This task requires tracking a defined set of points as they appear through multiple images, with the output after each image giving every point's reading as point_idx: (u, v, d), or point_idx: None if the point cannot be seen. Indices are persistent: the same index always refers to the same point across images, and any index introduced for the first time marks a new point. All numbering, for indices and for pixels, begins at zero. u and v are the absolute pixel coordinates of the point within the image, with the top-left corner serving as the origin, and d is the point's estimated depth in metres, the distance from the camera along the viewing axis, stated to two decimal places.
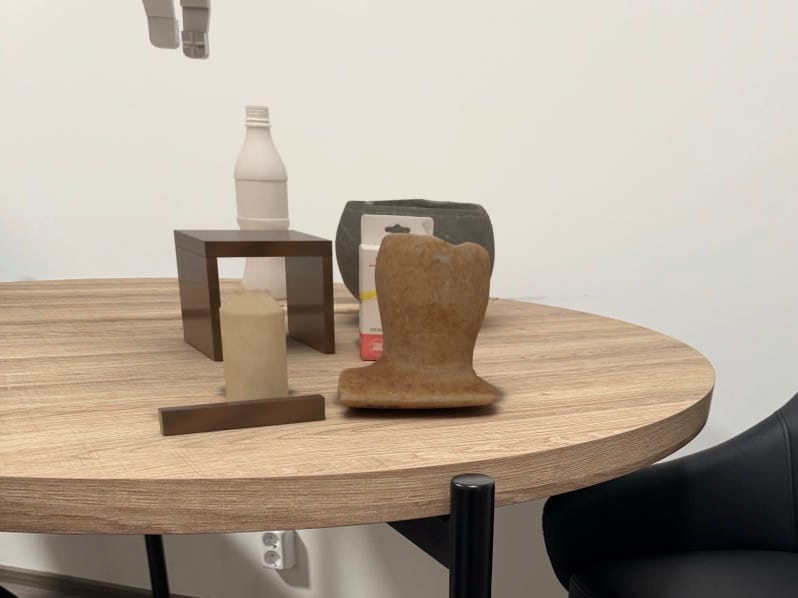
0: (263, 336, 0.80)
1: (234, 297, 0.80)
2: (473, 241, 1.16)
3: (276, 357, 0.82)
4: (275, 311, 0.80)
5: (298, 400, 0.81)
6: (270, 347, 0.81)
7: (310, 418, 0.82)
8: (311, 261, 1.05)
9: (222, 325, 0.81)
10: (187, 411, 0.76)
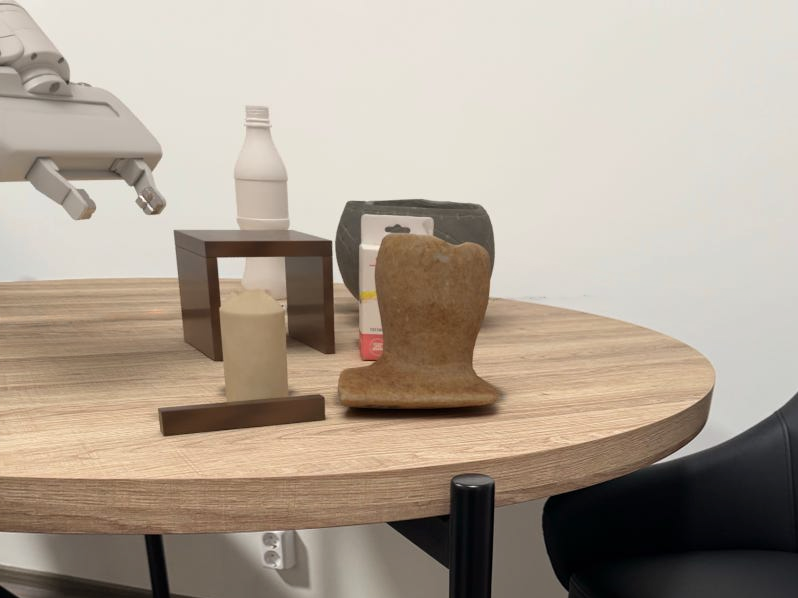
0: (263, 336, 0.80)
1: (234, 297, 0.80)
2: (473, 241, 1.16)
3: (276, 357, 0.82)
4: (275, 311, 0.80)
5: (298, 400, 0.81)
6: (270, 347, 0.81)
7: (310, 418, 0.82)
8: (311, 261, 1.05)
9: (222, 325, 0.81)
10: (187, 411, 0.76)
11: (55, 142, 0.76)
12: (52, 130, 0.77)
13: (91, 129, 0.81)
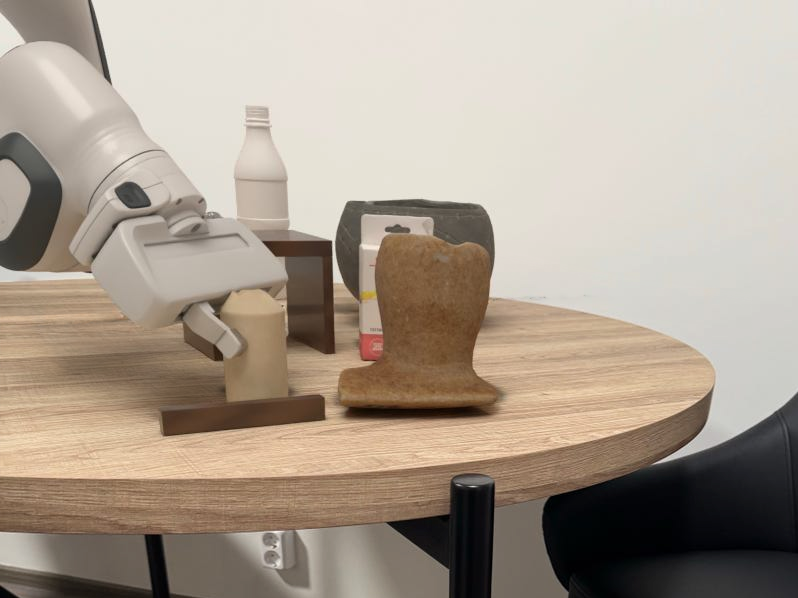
0: (263, 336, 0.80)
1: (234, 297, 0.80)
2: (473, 241, 1.16)
3: (276, 357, 0.82)
4: (275, 311, 0.80)
5: (298, 400, 0.81)
6: (270, 346, 0.81)
7: (310, 418, 0.82)
8: (311, 261, 1.05)
9: None
10: (187, 411, 0.76)
11: (201, 287, 0.77)
12: (197, 274, 0.78)
13: (229, 266, 0.82)
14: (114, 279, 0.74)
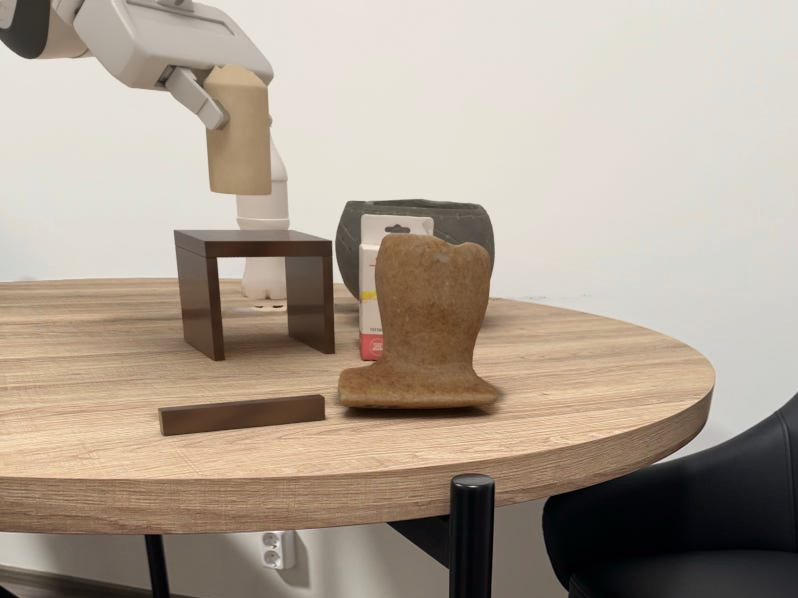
0: (246, 109, 0.81)
1: (217, 70, 0.80)
2: (473, 241, 1.16)
3: (259, 135, 0.82)
4: (258, 85, 0.81)
5: (298, 400, 0.81)
6: (252, 122, 0.81)
7: (310, 418, 0.82)
8: (311, 261, 1.05)
9: None
10: (187, 411, 0.76)
11: (183, 51, 0.78)
12: (179, 40, 0.78)
13: (213, 44, 0.82)
14: (95, 30, 0.74)
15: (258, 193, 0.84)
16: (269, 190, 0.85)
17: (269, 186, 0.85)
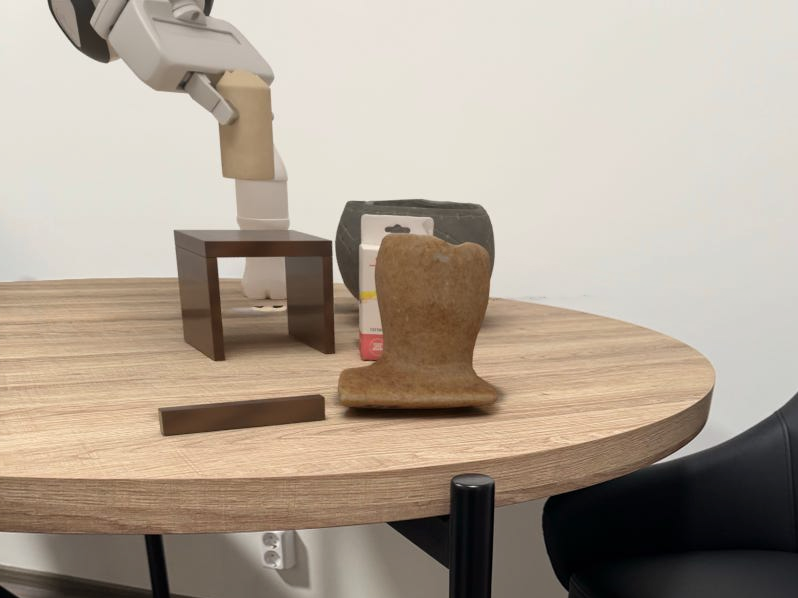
0: (252, 107, 0.96)
1: (228, 74, 0.96)
2: (473, 241, 1.16)
3: (263, 128, 0.97)
4: (263, 86, 0.96)
5: (298, 400, 0.81)
6: (258, 117, 0.97)
7: (310, 418, 0.82)
8: (311, 261, 1.05)
9: None
10: (187, 411, 0.76)
11: (199, 59, 0.93)
12: (196, 50, 0.94)
13: (223, 52, 0.98)
14: (128, 43, 0.89)
15: (263, 178, 0.99)
16: (272, 175, 1.01)
17: (272, 172, 1.00)
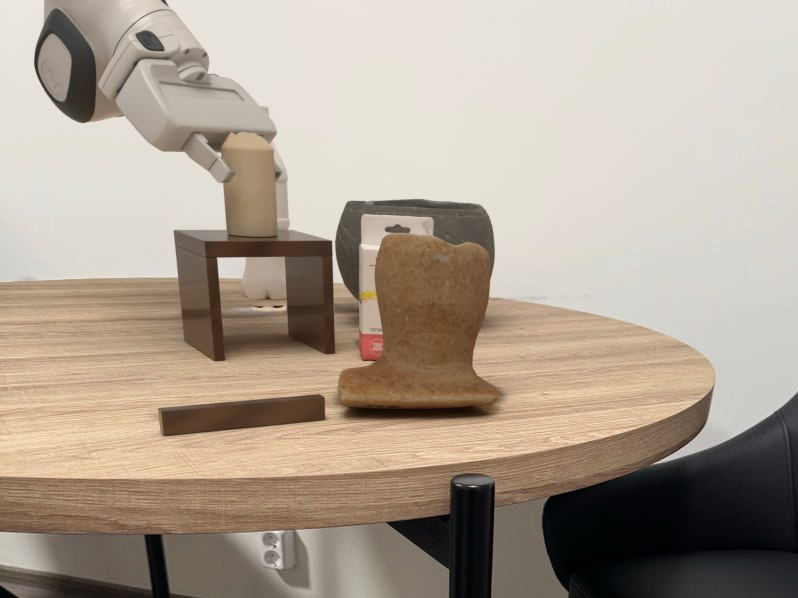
0: (256, 168, 0.99)
1: (232, 136, 0.98)
2: (473, 241, 1.16)
3: (267, 188, 1.00)
4: (266, 148, 0.99)
5: (298, 400, 0.81)
6: (261, 178, 0.99)
7: (310, 418, 0.82)
8: (311, 261, 1.05)
9: None
10: (187, 411, 0.76)
11: (204, 120, 0.95)
12: (201, 111, 0.96)
13: (227, 111, 1.00)
14: (135, 106, 0.92)
15: (267, 235, 1.02)
16: (276, 232, 1.03)
17: (276, 229, 1.03)
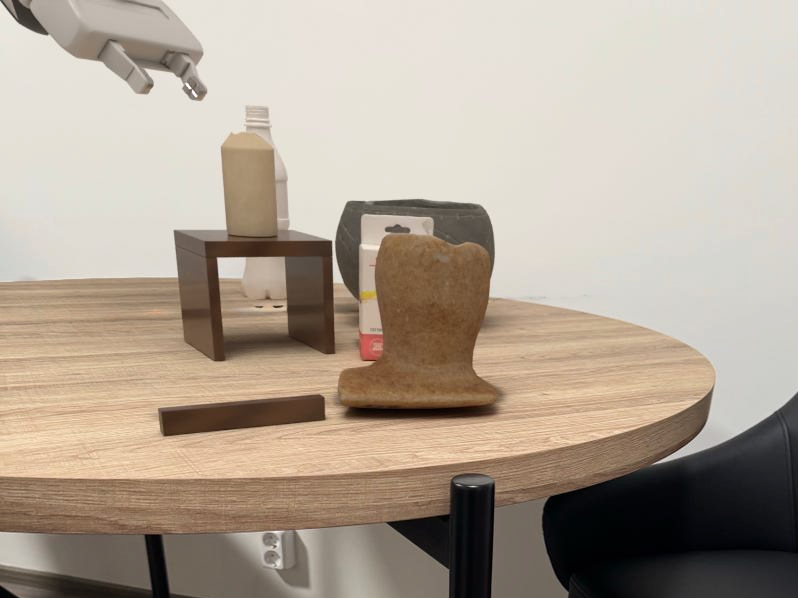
0: (256, 168, 0.99)
1: (232, 136, 0.98)
2: (473, 241, 1.16)
3: (267, 188, 1.00)
4: (266, 148, 0.99)
5: (298, 400, 0.81)
6: (262, 178, 0.99)
7: (310, 418, 0.82)
8: (311, 261, 1.05)
9: (223, 160, 0.99)
10: (187, 411, 0.76)
11: (121, 29, 0.94)
12: (119, 20, 0.95)
13: (148, 25, 0.99)
14: (48, 10, 0.91)
15: (267, 235, 1.02)
16: (276, 232, 1.03)
17: (276, 229, 1.03)
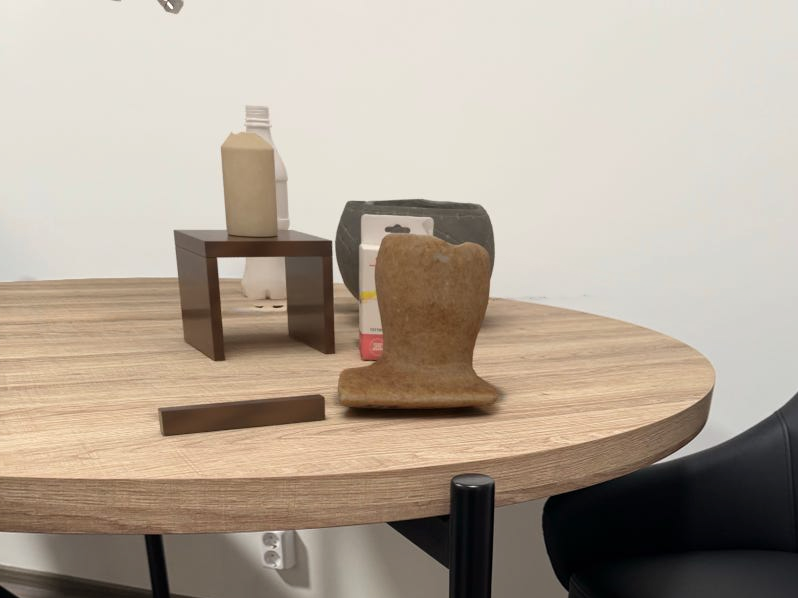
0: (256, 168, 0.99)
1: (232, 136, 0.98)
2: (473, 241, 1.16)
3: (267, 188, 1.00)
4: (266, 148, 0.99)
5: (298, 400, 0.81)
6: (262, 178, 0.99)
7: (310, 418, 0.82)
8: (311, 261, 1.05)
9: (223, 160, 0.99)
10: (187, 411, 0.76)
11: None
12: None
13: None
14: None
15: (267, 235, 1.02)
16: (276, 232, 1.03)
17: (276, 229, 1.03)
